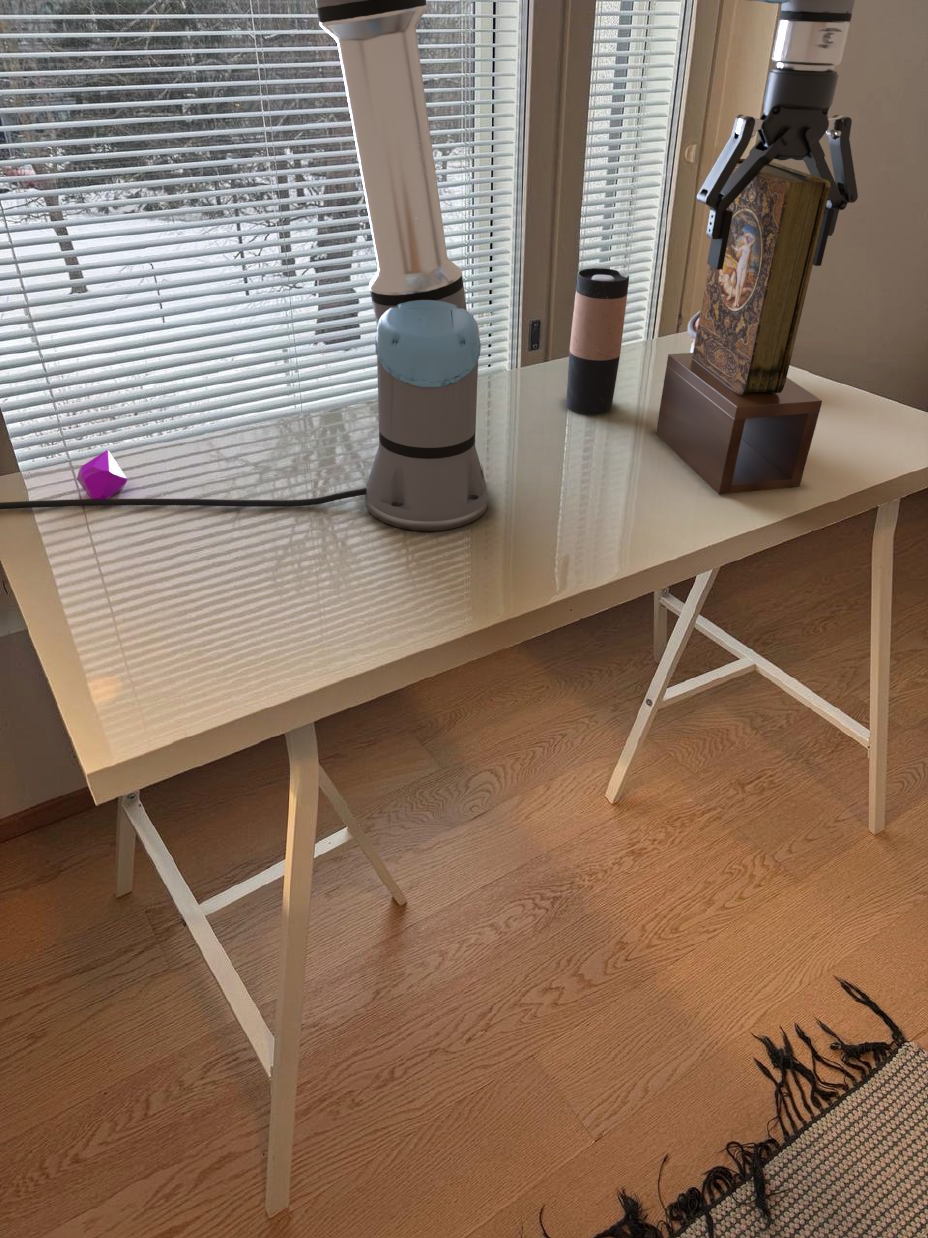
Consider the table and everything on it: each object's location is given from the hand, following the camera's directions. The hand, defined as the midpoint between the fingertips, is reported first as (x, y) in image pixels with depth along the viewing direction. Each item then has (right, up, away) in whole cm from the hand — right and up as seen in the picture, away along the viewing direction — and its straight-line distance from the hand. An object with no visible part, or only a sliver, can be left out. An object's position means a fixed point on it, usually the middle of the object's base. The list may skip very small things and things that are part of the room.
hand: (764, 265), depth 115 cm
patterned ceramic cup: (+4, -4, +41) cm, 41 cm away
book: (-2, -12, +8) cm, 14 cm away
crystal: (-82, -29, +1) cm, 87 cm away
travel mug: (-18, -11, +30) cm, 36 cm away
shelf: (-1, -22, +15) cm, 26 cm away
